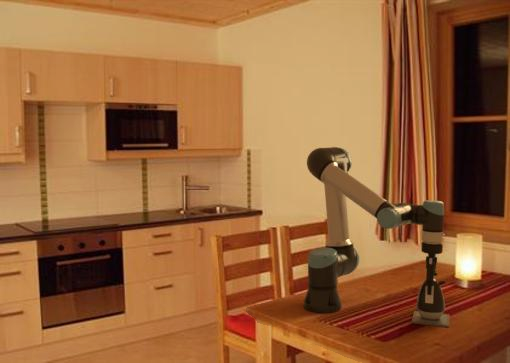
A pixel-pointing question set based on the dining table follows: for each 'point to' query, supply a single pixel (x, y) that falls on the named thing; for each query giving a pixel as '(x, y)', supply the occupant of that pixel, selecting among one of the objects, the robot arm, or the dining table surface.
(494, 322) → the dining table surface
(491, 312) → the dining table surface
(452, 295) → the dining table surface
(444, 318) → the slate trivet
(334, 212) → the robot arm
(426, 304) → the pump dispenser
